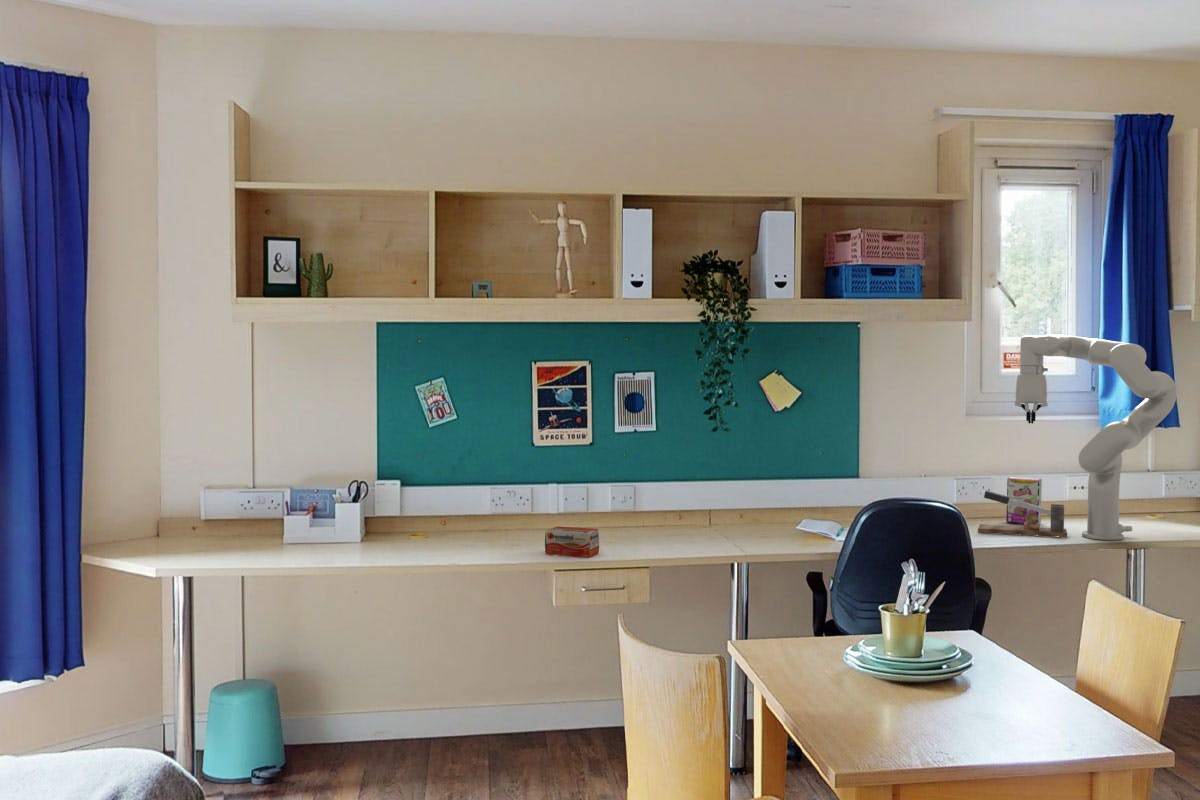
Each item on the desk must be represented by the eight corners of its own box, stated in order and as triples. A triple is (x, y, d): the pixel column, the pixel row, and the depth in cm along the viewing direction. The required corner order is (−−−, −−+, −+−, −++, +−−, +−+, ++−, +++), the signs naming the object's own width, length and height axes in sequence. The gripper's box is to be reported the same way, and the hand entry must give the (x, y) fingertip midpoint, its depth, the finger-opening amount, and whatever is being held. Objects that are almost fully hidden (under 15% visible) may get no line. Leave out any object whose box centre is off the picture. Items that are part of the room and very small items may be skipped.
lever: (1059, 517, 367) (1061, 511, 367) (1059, 519, 364) (1061, 513, 363) (984, 496, 376) (985, 490, 375) (983, 497, 372) (985, 491, 372)
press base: (1066, 533, 369) (1066, 504, 369) (1067, 537, 360) (1067, 508, 360) (979, 528, 380) (979, 500, 379) (978, 532, 370) (978, 503, 370)
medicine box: (544, 555, 333) (544, 529, 333) (555, 551, 341) (555, 525, 340) (589, 558, 328) (589, 532, 327) (599, 554, 335) (599, 528, 335)
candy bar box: (1005, 523, 391) (1006, 478, 390) (1008, 521, 395) (1009, 476, 394) (1038, 525, 385) (1039, 479, 384) (1041, 523, 389) (1042, 478, 388)
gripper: (1054, 370, 377) (1053, 423, 378) (1008, 370, 382) (1008, 422, 383) (1055, 371, 370) (1054, 424, 371) (1008, 370, 375) (1007, 423, 376)
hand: (1030, 423), depth 377 cm, fingers closed
